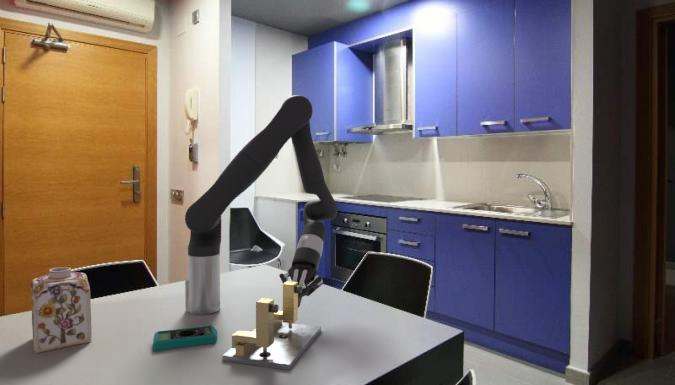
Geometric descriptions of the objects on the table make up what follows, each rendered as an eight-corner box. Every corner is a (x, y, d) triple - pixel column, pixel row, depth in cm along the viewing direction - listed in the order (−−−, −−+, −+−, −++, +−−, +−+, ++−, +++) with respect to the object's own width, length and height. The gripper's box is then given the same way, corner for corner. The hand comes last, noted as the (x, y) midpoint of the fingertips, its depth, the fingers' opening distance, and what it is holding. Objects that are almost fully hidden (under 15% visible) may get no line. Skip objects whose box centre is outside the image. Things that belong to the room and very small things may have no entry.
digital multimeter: (218, 345, 105) (218, 333, 104) (152, 353, 99) (152, 341, 99) (215, 334, 111) (215, 323, 111) (154, 341, 106) (154, 330, 106)
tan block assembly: (229, 355, 95) (229, 300, 94) (270, 321, 116) (270, 277, 115) (272, 361, 92) (272, 305, 92) (305, 325, 113) (306, 279, 113)
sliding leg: (262, 327, 111) (262, 282, 110) (266, 323, 114) (266, 279, 113) (298, 331, 108) (298, 285, 107) (302, 327, 111) (303, 282, 110)
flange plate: (222, 360, 95) (222, 355, 95) (265, 324, 117) (265, 320, 117) (289, 370, 91) (289, 364, 91) (321, 331, 113) (321, 326, 113)
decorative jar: (32, 338, 107) (30, 267, 106) (85, 328, 114) (84, 261, 113) (34, 354, 97) (31, 277, 96) (92, 342, 104) (90, 270, 103)
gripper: (283, 244, 122) (265, 298, 111) (327, 247, 119) (313, 303, 108) (290, 259, 128) (273, 312, 116) (332, 262, 124) (319, 317, 113)
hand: (293, 307), depth 112 cm, fingers closed
